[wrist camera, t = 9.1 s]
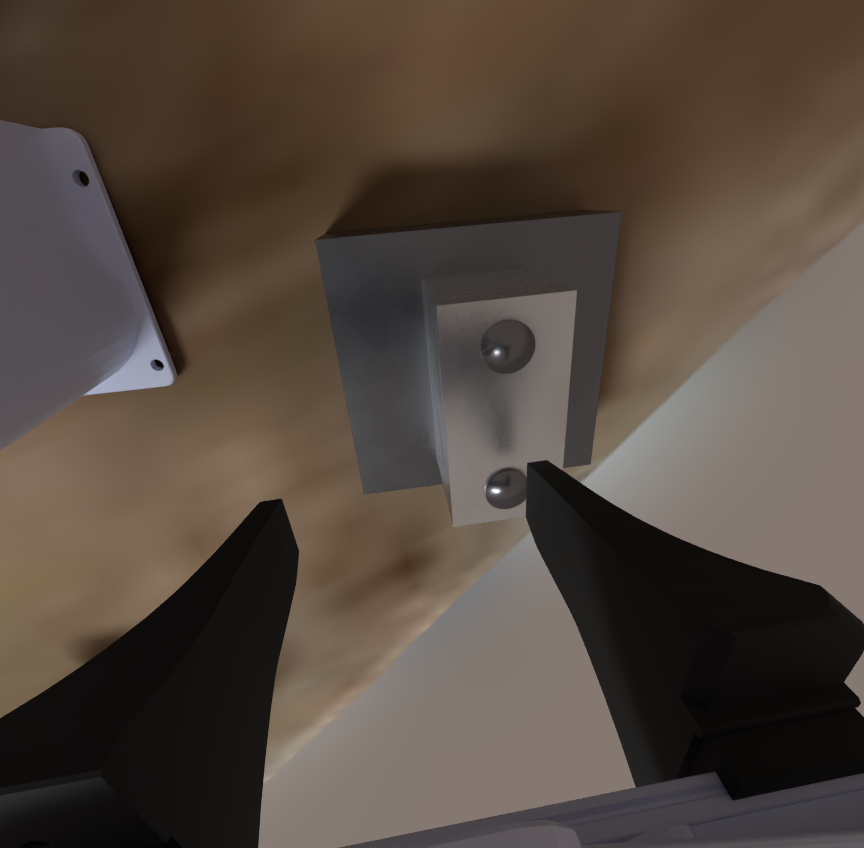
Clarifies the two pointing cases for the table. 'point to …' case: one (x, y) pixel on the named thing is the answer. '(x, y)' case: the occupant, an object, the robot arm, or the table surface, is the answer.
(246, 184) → the table surface
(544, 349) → the block
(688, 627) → the robot arm
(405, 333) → the stand
